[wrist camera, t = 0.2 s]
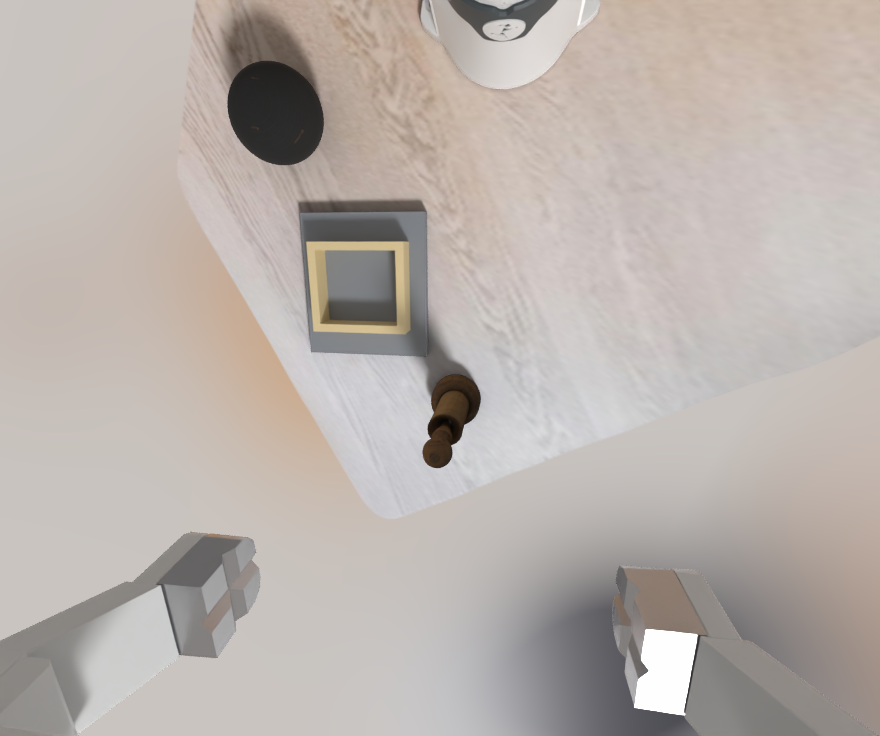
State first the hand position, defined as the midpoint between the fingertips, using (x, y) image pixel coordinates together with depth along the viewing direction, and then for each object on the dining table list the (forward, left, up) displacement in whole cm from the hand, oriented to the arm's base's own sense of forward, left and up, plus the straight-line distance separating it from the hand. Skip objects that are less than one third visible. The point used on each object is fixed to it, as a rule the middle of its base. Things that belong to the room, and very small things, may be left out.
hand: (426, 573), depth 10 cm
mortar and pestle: (+13, -5, -48) cm, 50 cm away
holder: (-2, -17, -48) cm, 51 cm away
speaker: (-21, -25, -48) cm, 58 cm away
